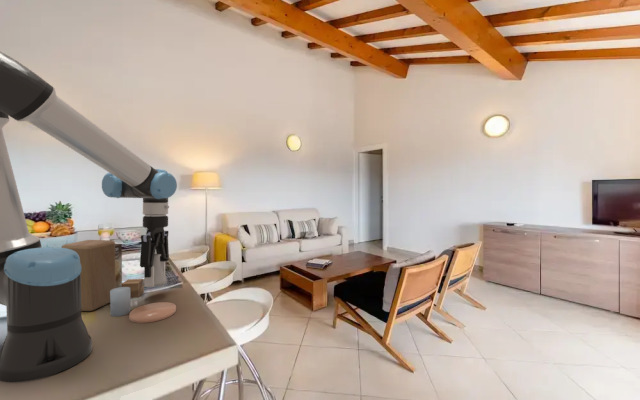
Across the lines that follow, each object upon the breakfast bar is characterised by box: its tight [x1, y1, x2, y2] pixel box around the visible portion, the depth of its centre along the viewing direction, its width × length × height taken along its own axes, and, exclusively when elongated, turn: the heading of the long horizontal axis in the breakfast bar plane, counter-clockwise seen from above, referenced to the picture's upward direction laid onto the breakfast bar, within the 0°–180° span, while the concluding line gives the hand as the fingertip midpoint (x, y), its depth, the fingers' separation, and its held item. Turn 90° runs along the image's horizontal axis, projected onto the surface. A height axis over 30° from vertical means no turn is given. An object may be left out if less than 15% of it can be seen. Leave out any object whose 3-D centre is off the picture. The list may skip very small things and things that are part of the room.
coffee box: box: [115, 243, 123, 288], centre depth 109 cm, size 9×6×16 cm
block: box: [60, 239, 116, 312], centre depth 94 cm, size 10×10×20 cm
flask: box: [142, 253, 169, 287], centre depth 102 cm, size 7×7×10 cm
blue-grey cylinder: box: [109, 286, 132, 317], centre depth 89 cm, size 5×5×7 cm
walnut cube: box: [121, 278, 145, 299], centre depth 104 cm, size 5×5×5 cm
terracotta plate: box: [128, 301, 177, 324], centre depth 88 cm, size 12×12×1 cm
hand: (155, 283), depth 102 cm, fingers closed on flask, 7 cm apart
